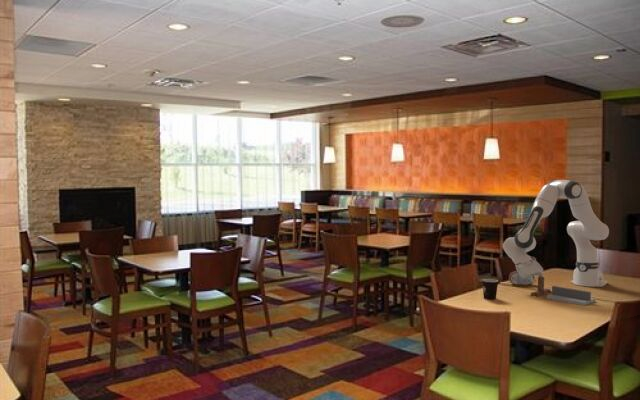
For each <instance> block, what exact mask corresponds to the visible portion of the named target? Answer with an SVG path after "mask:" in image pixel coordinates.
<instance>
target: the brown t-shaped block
mask: <svg viewBox="0 0 640 400" xmlns="http://www.w3.org/2000/svg"><path fill="white" fill-rule="evenodd" d="M544 278H545V277H544V276H543V277H539V276H537V290H536V291H533V292H530V297H533V296H536V297H538V295H539V296H542V295H545V294H544V293H546V294H549V293H552V288H545V279H544ZM548 292H549V293H548ZM541 294H542V295H541Z"/></svg>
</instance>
